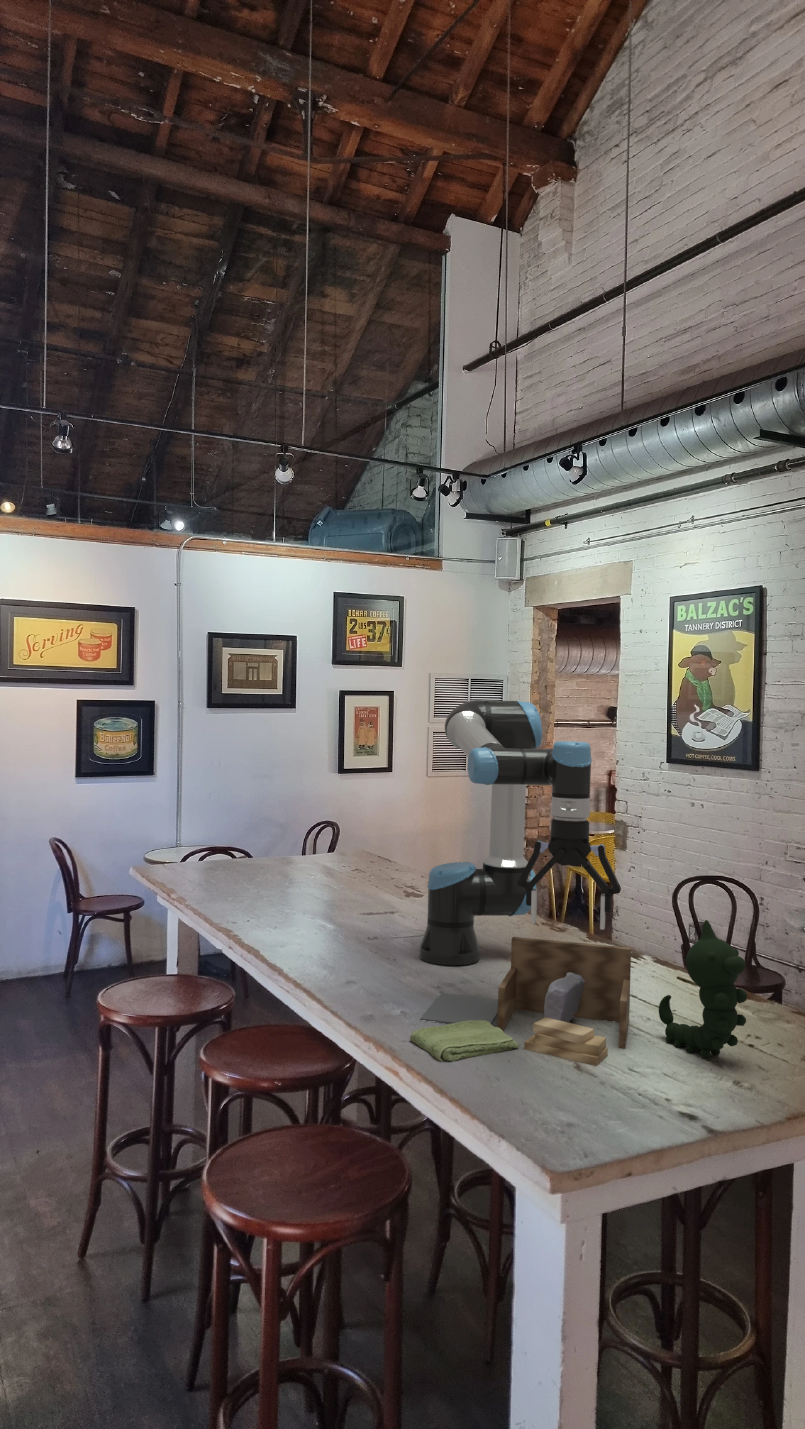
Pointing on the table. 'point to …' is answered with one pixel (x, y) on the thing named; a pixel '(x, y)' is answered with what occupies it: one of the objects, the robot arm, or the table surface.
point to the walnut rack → (553, 960)
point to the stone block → (564, 997)
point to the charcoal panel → (461, 1009)
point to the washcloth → (462, 1040)
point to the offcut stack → (567, 1041)
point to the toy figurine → (709, 996)
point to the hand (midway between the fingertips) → (567, 925)
